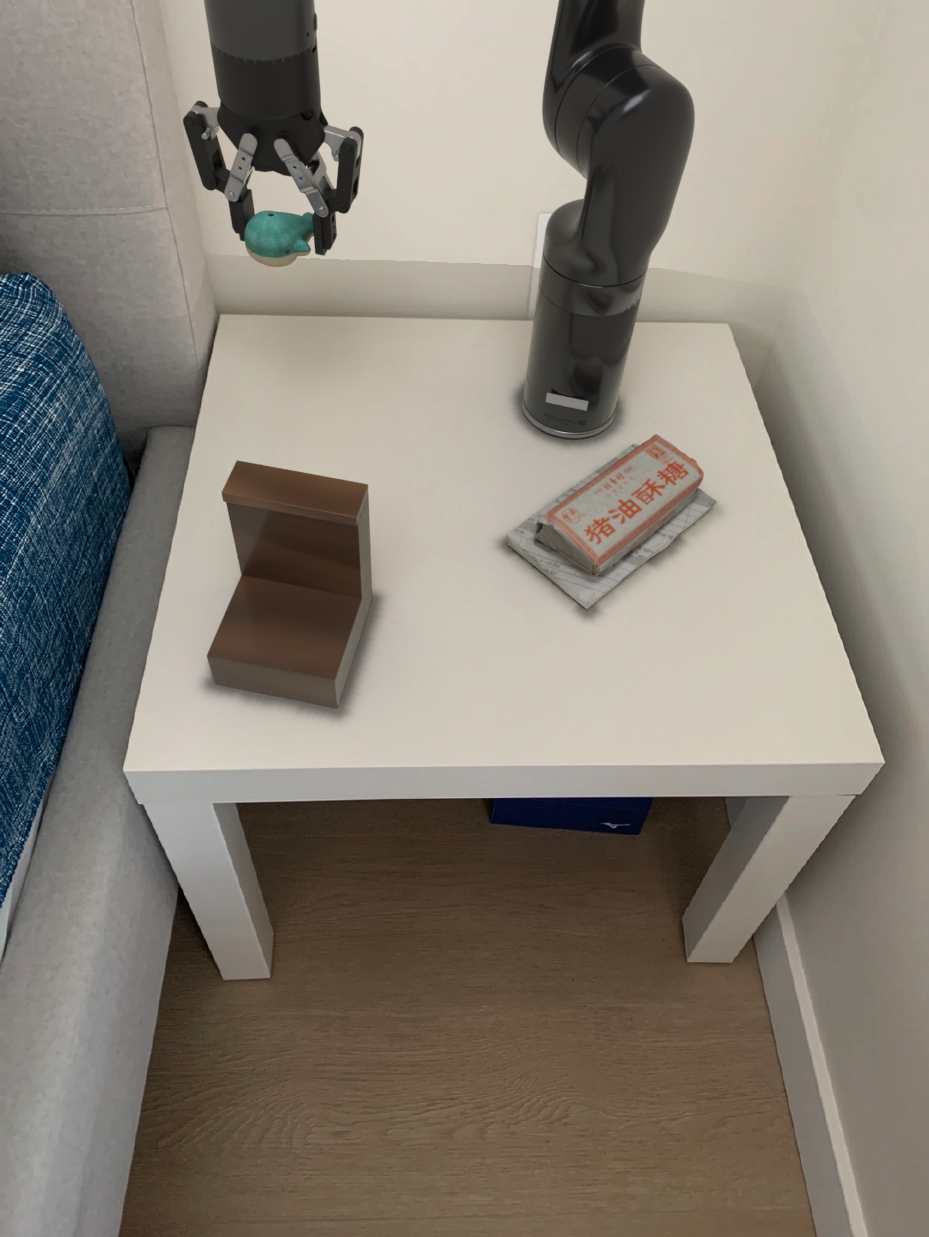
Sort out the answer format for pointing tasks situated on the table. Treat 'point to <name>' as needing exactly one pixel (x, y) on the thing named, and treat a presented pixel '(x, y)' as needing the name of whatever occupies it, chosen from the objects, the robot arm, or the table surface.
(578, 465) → the table surface
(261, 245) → the whale figurine
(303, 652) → the shelf
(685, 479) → the packaged product
